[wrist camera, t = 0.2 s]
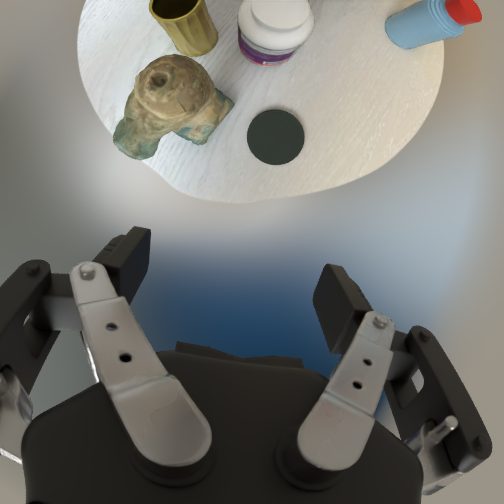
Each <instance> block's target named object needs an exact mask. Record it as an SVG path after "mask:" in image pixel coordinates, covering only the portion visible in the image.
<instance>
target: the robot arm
mask: <svg viewBox="0 0 504 504" xmlns="http://www.w3.org/2000/svg"><path fill="white" fill-rule="evenodd" d="M150 238H151V230H150V229H147V228H142V227H136V226H134V227H133V228H132V229H131V230H130V231H129V232H128V233H127V235H119V236H117V237H115V238H113V239H112V240H111V241H110V242H109V243H108V245H106V246H105V247H104V249H103V250H102V251H101V252H100V253H99V254H98V255H97V256H96V257H95V258H94V260H93V261H92V262H81V263H78V264H76V265H74V266H73V267H72V268H71V269H70V271H69V274H54V273H53V274H52V273H51V270H50V265H49V263H48V262H46V261H44V260H31V261H27V262H25V263H24V264H22V265H21V266H20V267H19V268H18V269H17V270H16V271H15V272H14V273H13V274H12V275H11V276H10V277H9V278H8V279H7V280H6V281H5V282H4V283H3V284H2V285H1V287H0V455H2V454H3V455H5V456H6V457H8V458H10V459H12V460H14V461H15V462H17V463H19V464H21V465H23V470H24V476H25V484H26V504H421V494H423V495H431V494H433V493H435V492H437V491H438V490H440V489H442V488H444V487H445V486H447V485H449V484H450V483H452V482H454V481H455V480H457V479H458V478H460V477H462V476H463V475H465V474H466V473H467V472H469V471H470V470H472V469H473V468H475V467H476V466H478V465H479V464H480V463H482V462H483V461H484V460H486V459H487V458H488V457H489V456H490V455H491V452H492V441H491V439H490V436H489V434H488V432H487V430H486V427H485V425H484V423H483V421H482V419H481V417H480V415H479V413H478V411H477V409H476V407H475V405H474V403H473V401H472V400H471V397H470V395H469V394H468V392H467V390H466V388H465V386H464V384H463V383H462V381H461V379H460V377H459V376H458V374H457V372H456V370H455V369H454V367H453V365H452V364H451V362H450V360H449V359H448V357H447V355H446V354H445V352H444V350H443V349H442V347H441V346H440V344H439V342H438V341H437V339H436V338H435V336H434V335H433V334H432V333H431V332H430V331H429V330H427V329H426V328H424V327H421V326H413V327H412V328H411V330H410V331H409V333H408V334H405V333H402V332H399V331H396V330H395V325H394V323H393V321H392V320H391V319H390V318H389V317H387V316H386V315H384V314H382V313H379V312H376V311H374V310H373V309H372V308H371V306H370V304H369V302H368V301H367V299H366V298H365V296H364V294H363V293H362V291H361V289H360V288H359V286H358V285H357V284H356V283H355V282H354V281H353V280H352V279H351V278H349V276H348V275H347V273H346V271H345V270H344V268H343V267H342V266H337V265H332V264H326V265H325V266H324V268H323V271H322V274H321V276H320V279H319V281H318V284H317V286H316V289H315V291H314V295H313V305H314V308H315V311H316V313H317V316H318V319H319V322H320V325H321V327H322V330H323V333H324V336H325V339H326V342H327V345H328V348H329V351H330V353H331V354H342V357H341V358H340V360H339V362H338V363H337V365H336V367H335V368H334V370H333V372H332V373H331V375H330V377H329V378H328V379H327V378H326V377H324V376H322V375H321V374H319V373H317V372H315V371H312V370H310V369H307V368H304V366H303V362H302V359H301V358H291V357H280V356H265V357H253V358H239V357H236V356H233V355H230V354H227V353H224V352H221V351H218V350H216V349H213V348H210V347H206V346H200V345H194V344H189V343H183V342H179V341H178V342H177V344H176V349H175V350H169V351H160V352H154V350H153V348H152V347H151V345H150V343H149V341H148V340H147V338H146V336H145V334H144V333H143V331H142V329H141V327H140V325H139V324H138V322H137V320H136V318H135V316H134V314H133V313H132V310H131V309H130V307H129V306H130V303H131V302H132V300H133V298H134V296H135V294H136V292H137V290H138V288H139V286H140V284H141V282H142V281H143V279H144V277H145V275H146V273H147V270H148V265H149V253H150ZM28 314H29V319H28V320H27V322H26V323H25V325H24V326H23V324H24V321H25V319H26V317H27V316H28ZM61 330H62V331H79V333H80V337H81V340H82V343H83V347H84V350H85V353H86V356H87V359H88V362H89V365H90V368H91V371H92V374H93V376H94V380H95V383H96V384H94V385H92V386H91V387H89V388H87V389H85V390H84V391H82V392H80V393H79V394H76V395H74V396H73V397H71V398H69V399H67V400H65V401H64V402H62V403H60V404H58V405H56V406H55V407H52V408H50V409H49V410H47V411H45V412H43V413H41V414H40V415H38V416H37V417H35V418H34V419H33V420H32V414H33V405H32V401H31V399H30V397H29V394H30V392H31V389H32V387H33V385H34V383H35V380H36V378H37V376H38V374H39V372H40V370H41V368H42V366H43V364H44V362H45V360H46V358H47V356H48V354H49V352H50V350H51V348H52V346H53V344H54V343H55V341H56V339H57V337H58V335H59V333H60V332H61ZM418 369H419V370H420V371H421V373H422V375H423V378H424V385H423V388H422V389H421V391H420V392H419V393H418V392H417V390H416V388H415V385H414V383H413V381H412V379H411V378H412V376H413V375H414V374H415V373H416V371H417V370H418ZM383 388H384V391H385V393H386V396H387V399H388V402H389V405H390V408H391V410H392V413H393V416H394V419H395V422H396V425H397V428H398V431H399V434H400V438H401V440H400V439H399V438H397V437H396V436H395V435H394V434H393V433H391V432H390V431H389V430H388V429H386V428H385V427H384V426H383V425H381V424H380V423H379V422H378V421H377V420H376V419H375V418H374V412H375V409H376V407H377V404H378V401H379V398H380V395H381V393H382V389H383Z"/></svg>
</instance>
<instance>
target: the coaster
mask: <svg viewBox="0 0 504 504" xmlns="http://www.w3.org/2000/svg"><path fill="white" fill-rule="evenodd" d="M247 142H248V145H249V148H250V150H251V152H252V153H253V154H254V156H255V157H256V158H258V159H259V160H261V161H262V162H264V163H267V164H271V165H281V164H285V163H288V162H290V161H291V160H293V159H294V158H295V157H297V155H298V154H299V153H300V151H301V149H302V147H303V144H304V131H303V128H302V126H301V124H300V122H299V121H298V120H297V119H296V118H295V117H294V116H293V115H291V114H290V113H288V112H285V111H282V110H269V111H265V112H263V113H261V114H259V115H258V116H257V117H256V118H254V120H253V121H252V122H251V124H250V126H249V128H248V132H247Z"/></svg>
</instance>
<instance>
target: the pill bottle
mask: <svg viewBox="0 0 504 504" xmlns="http://www.w3.org/2000/svg"><path fill="white" fill-rule="evenodd" d="M313 28H314V15H313V12H312V10H311V8H310V5H309V2H308V1H307V0H244V2H243V3H242V4H241V6H240V8H239V11H238V42H239V47H240V50H241V52H242V53H243V55H244V56H245V57H246V58H247V59H248V60H250V61H251V62H253V63H255V64H258V65H261V66H277V65H281V64H283V63H285V62H287V61H288V60H289V59H291V58H292V56H293V55H294V54H295V53H296V52H297V50H298V49H299V48H300V47H301V45H302V44H303V43H304V42H305V41H306V40H307V39H308V37H309V36H310V35H311V33H312V31H313Z"/></svg>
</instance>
